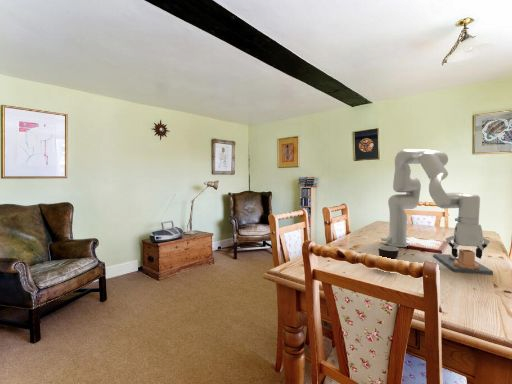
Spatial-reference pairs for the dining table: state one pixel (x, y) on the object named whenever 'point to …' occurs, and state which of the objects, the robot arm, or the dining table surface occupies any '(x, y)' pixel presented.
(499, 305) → the dining table surface
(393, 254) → the coffee mug
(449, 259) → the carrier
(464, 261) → the hollow square star tube
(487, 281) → the dining table surface
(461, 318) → the dining table surface
